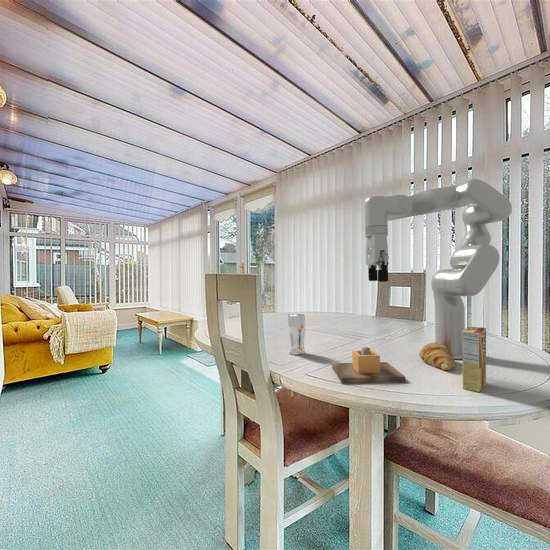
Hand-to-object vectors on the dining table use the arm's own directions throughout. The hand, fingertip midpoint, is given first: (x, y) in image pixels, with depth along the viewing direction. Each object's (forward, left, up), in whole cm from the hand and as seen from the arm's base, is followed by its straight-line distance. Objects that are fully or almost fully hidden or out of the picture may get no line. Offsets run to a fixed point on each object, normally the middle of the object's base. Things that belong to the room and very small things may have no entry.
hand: (378, 281), depth 105 cm
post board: (+9, +14, -28) cm, 32 cm away
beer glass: (+28, -12, -28) cm, 42 cm away
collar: (+9, +14, -26) cm, 31 cm away
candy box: (-17, +25, -28) cm, 41 cm away
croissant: (-18, +3, -28) cm, 34 cm away
